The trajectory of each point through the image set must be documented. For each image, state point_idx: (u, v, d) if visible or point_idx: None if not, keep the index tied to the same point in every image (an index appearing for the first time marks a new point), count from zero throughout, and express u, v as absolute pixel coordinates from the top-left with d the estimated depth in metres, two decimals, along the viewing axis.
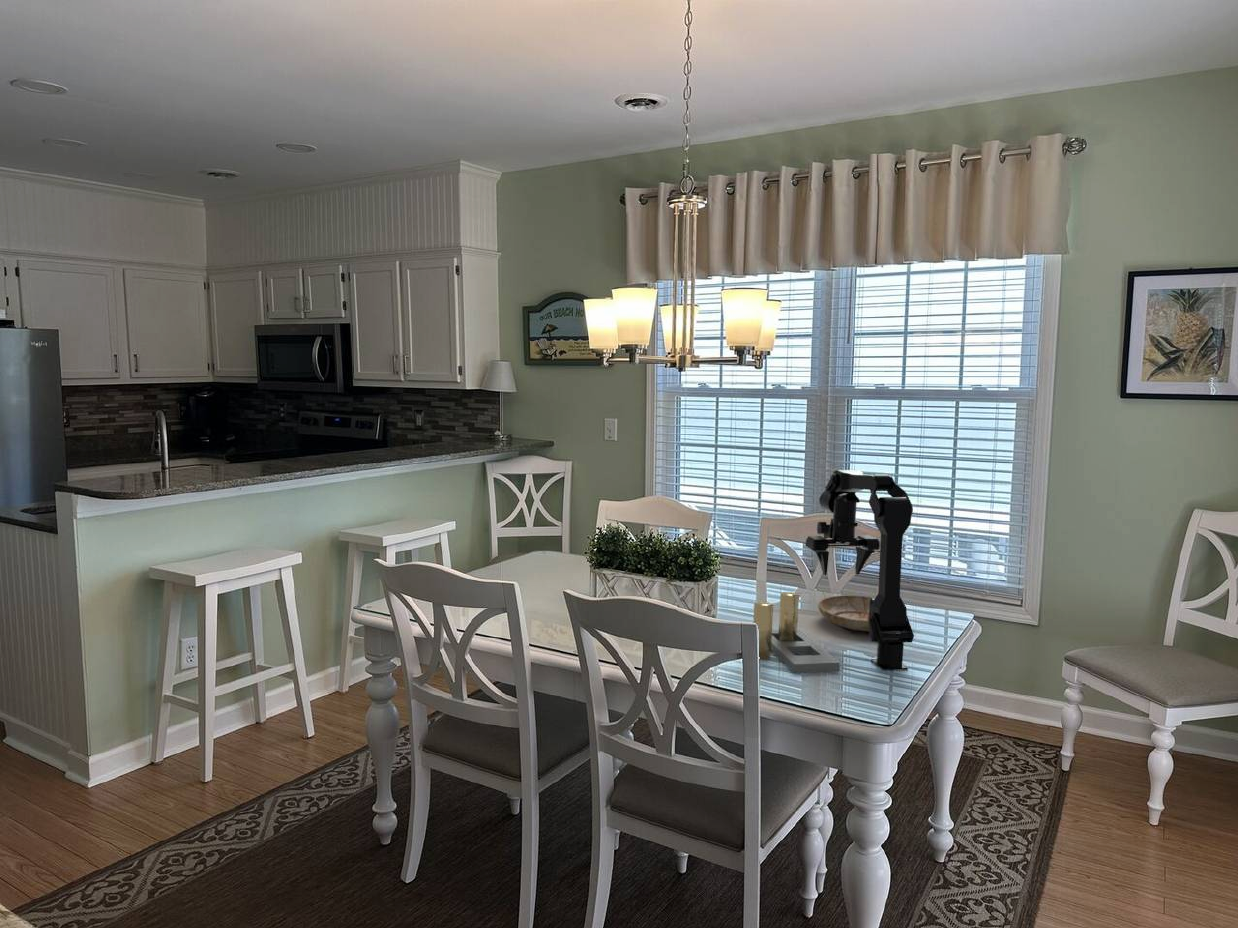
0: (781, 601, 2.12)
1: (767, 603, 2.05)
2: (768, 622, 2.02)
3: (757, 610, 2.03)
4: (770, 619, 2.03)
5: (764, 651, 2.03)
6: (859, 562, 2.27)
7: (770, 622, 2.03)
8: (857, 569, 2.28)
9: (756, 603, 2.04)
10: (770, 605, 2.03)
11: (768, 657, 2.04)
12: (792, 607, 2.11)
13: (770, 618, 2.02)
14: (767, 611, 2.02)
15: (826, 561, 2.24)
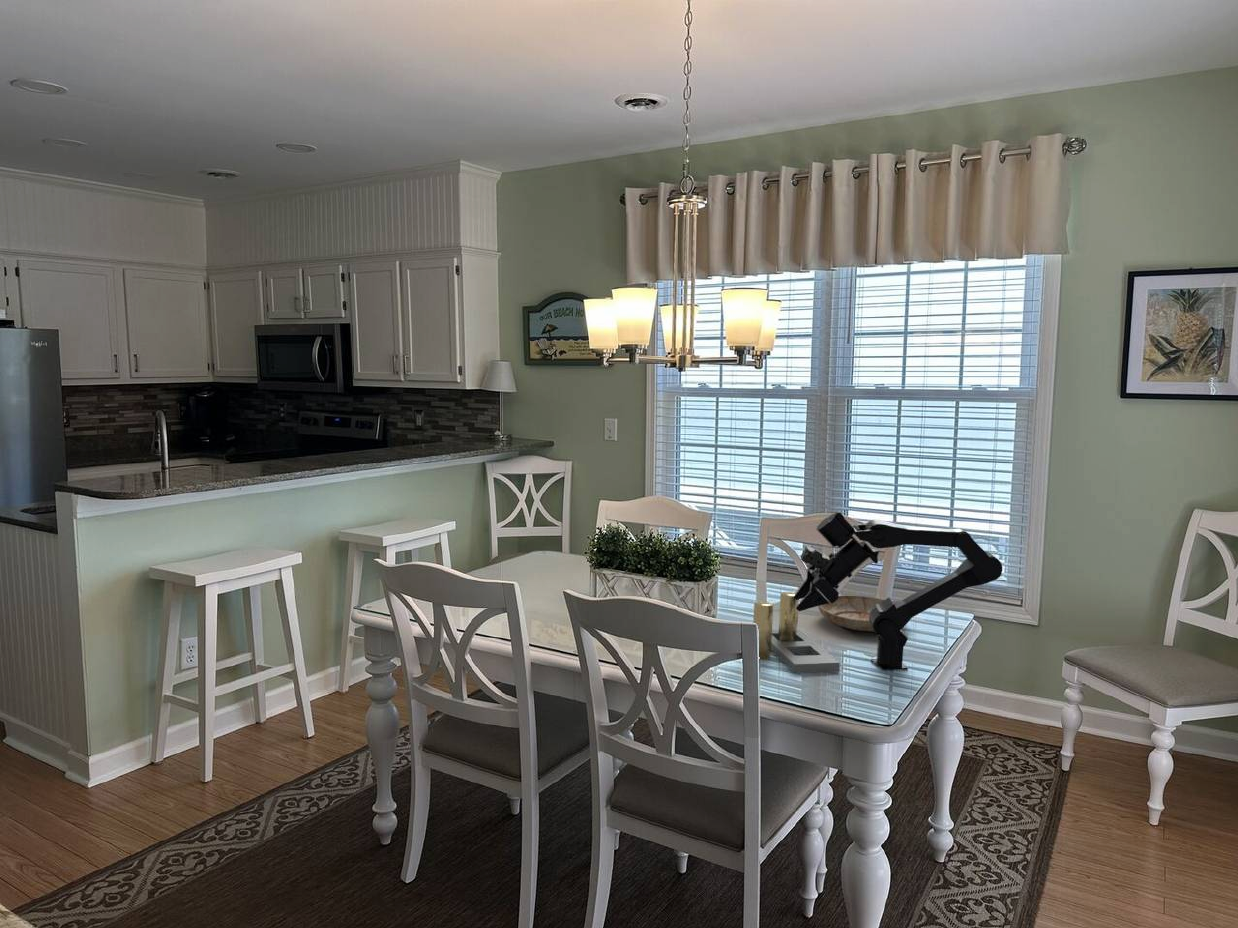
0: (781, 601, 2.12)
1: (767, 603, 2.05)
2: (768, 622, 2.02)
3: (757, 610, 2.02)
4: (770, 619, 2.03)
5: (764, 651, 2.03)
6: (808, 592, 2.07)
7: (770, 622, 2.03)
8: (800, 596, 2.07)
9: (756, 603, 2.04)
10: (770, 605, 2.03)
11: (768, 657, 2.04)
12: (792, 607, 2.11)
13: (770, 618, 2.02)
14: (767, 611, 2.02)
15: None
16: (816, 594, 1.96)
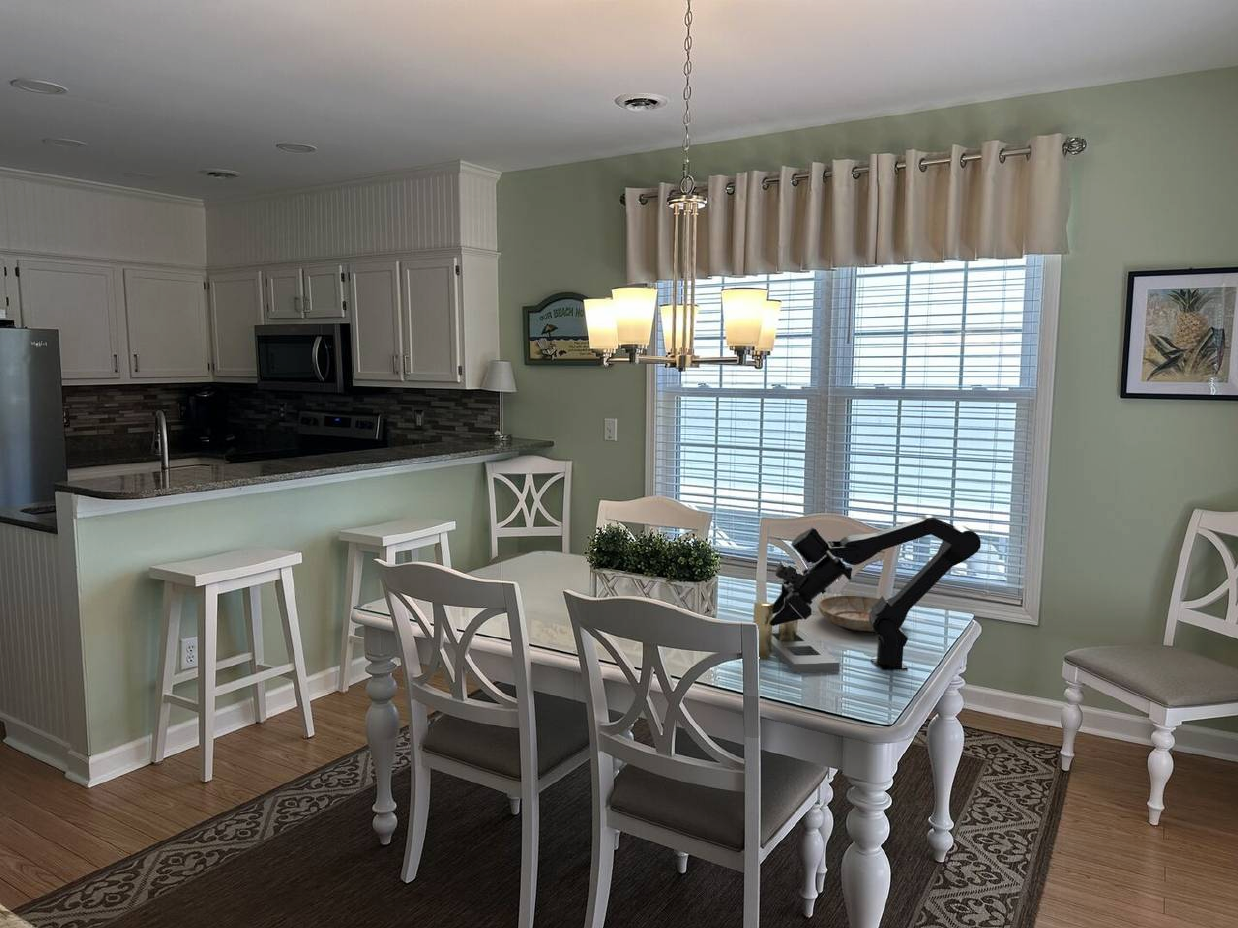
0: None
1: (767, 603, 2.05)
2: (768, 622, 2.02)
3: (757, 610, 2.02)
4: (770, 619, 2.03)
5: (764, 651, 2.03)
6: (782, 606, 2.08)
7: None
8: (775, 611, 2.08)
9: (756, 603, 2.04)
10: (770, 605, 2.03)
11: (768, 657, 2.04)
12: None
13: (770, 618, 2.02)
14: (767, 611, 2.02)
15: None
16: (789, 609, 1.98)
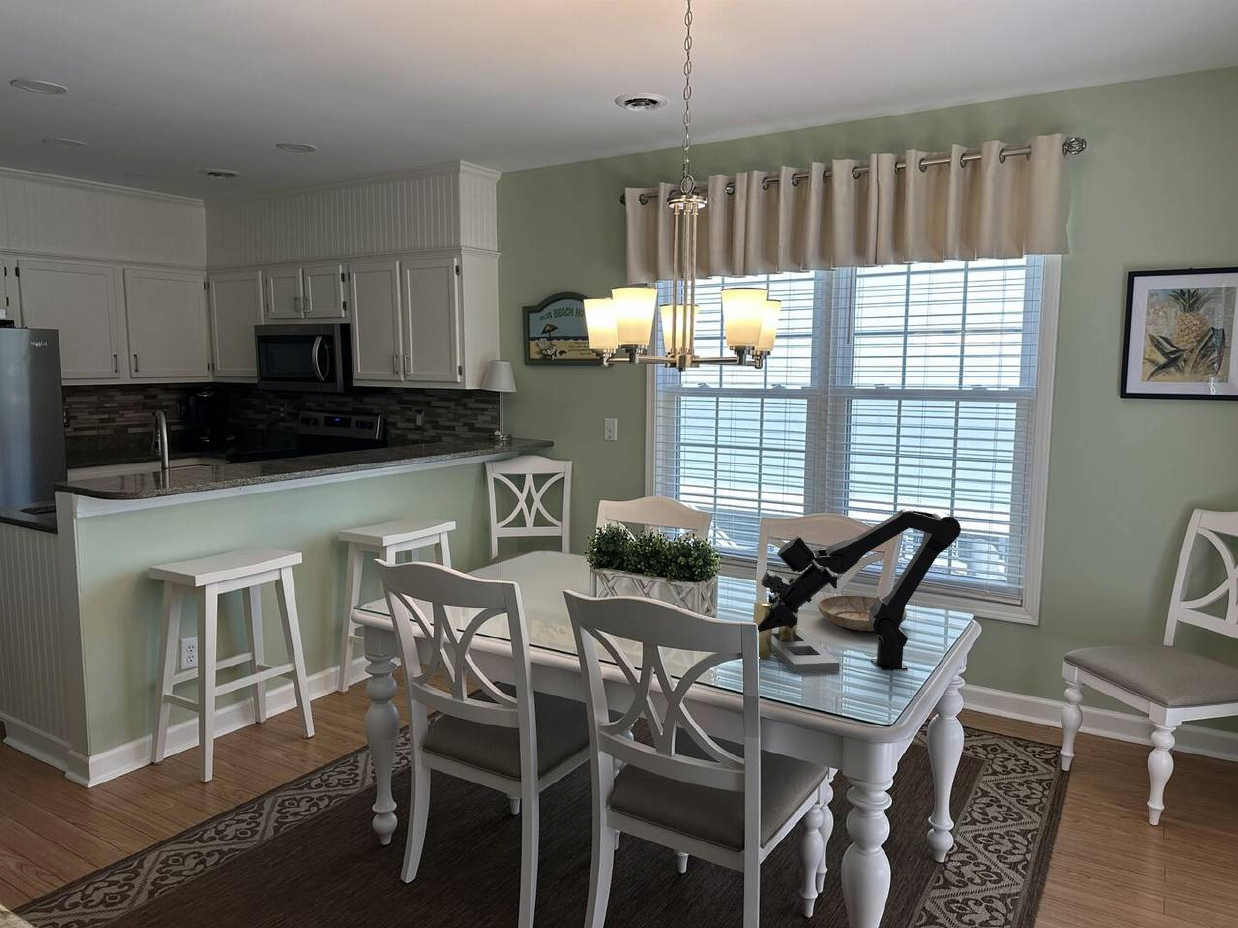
0: None
1: (767, 603, 2.05)
2: None
3: (757, 610, 2.02)
4: None
5: (764, 651, 2.03)
6: None
7: None
8: None
9: (756, 603, 2.04)
10: None
11: (768, 657, 2.04)
12: None
13: None
14: (767, 611, 2.02)
15: None
16: (775, 616, 2.00)
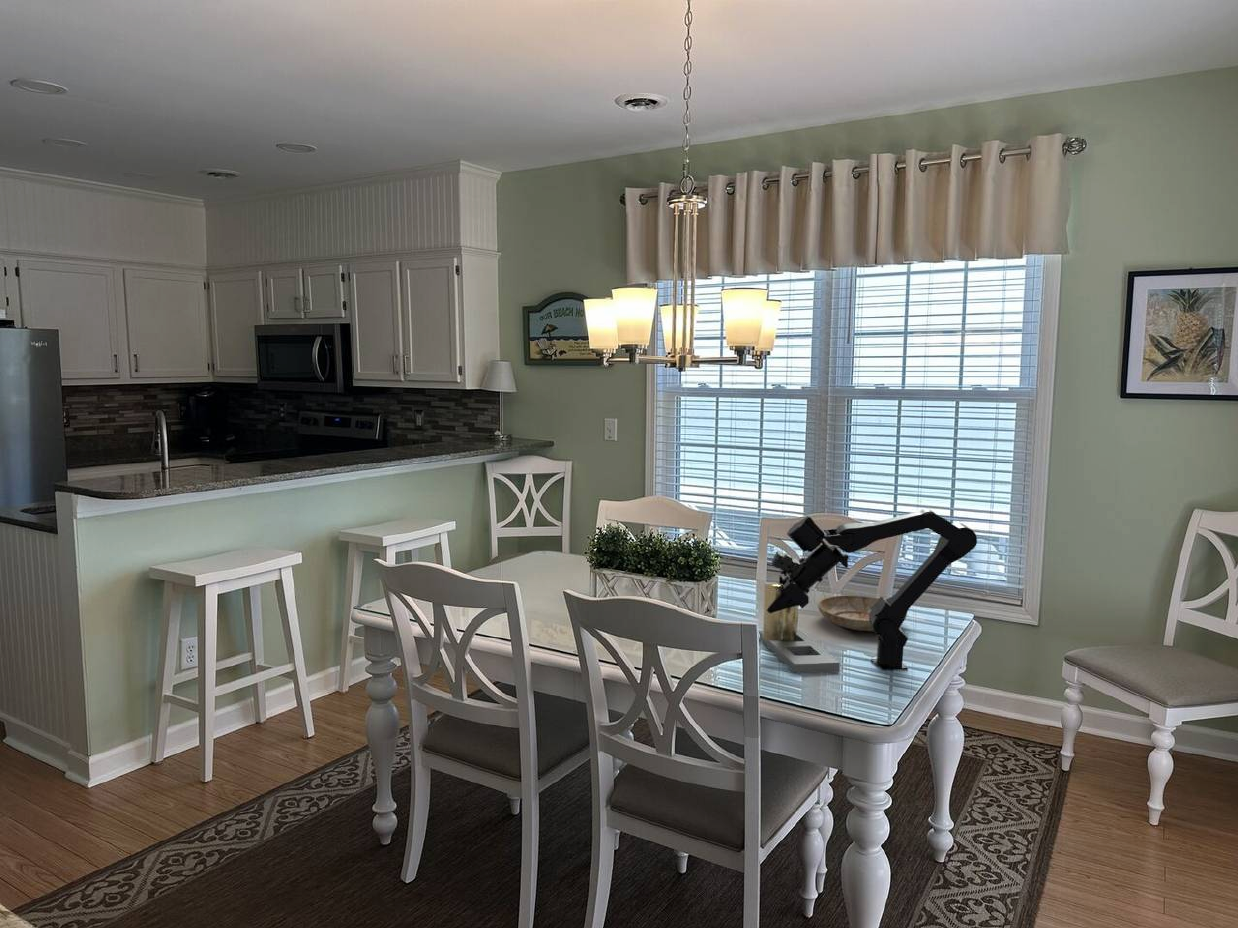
0: None
1: (778, 584, 2.04)
2: None
3: (768, 591, 2.02)
4: None
5: (776, 632, 2.02)
6: None
7: None
8: None
9: (766, 584, 2.04)
10: None
11: (780, 638, 2.03)
12: (792, 607, 2.11)
13: None
14: (778, 591, 2.01)
15: None
16: (786, 596, 1.99)
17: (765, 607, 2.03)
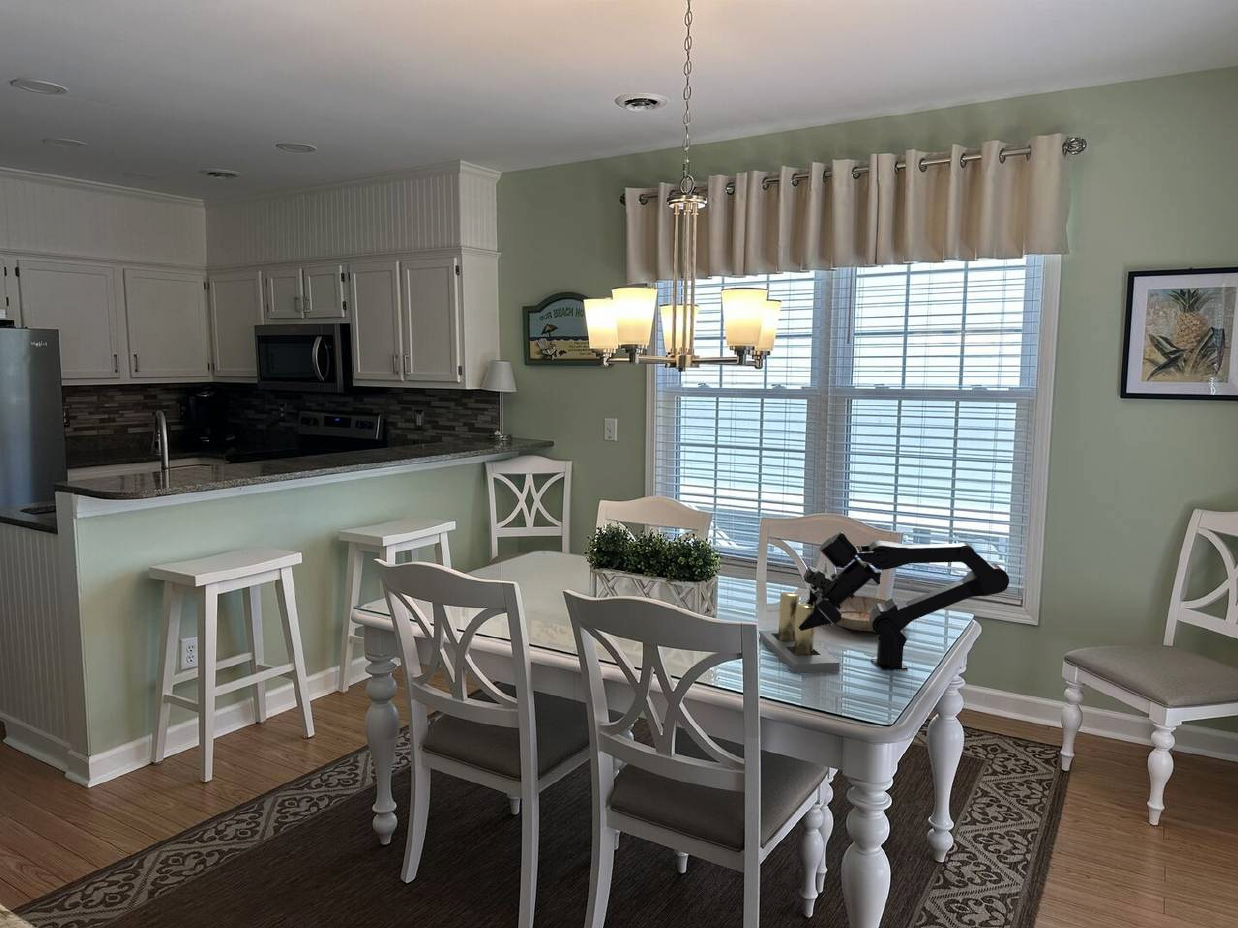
0: (781, 601, 2.12)
1: (809, 605, 2.04)
2: None
3: (800, 612, 2.02)
4: None
5: (807, 653, 2.02)
6: None
7: None
8: None
9: (798, 605, 2.03)
10: None
11: None
12: (792, 607, 2.11)
13: None
14: None
15: None
16: (819, 614, 1.98)
17: (796, 628, 2.03)
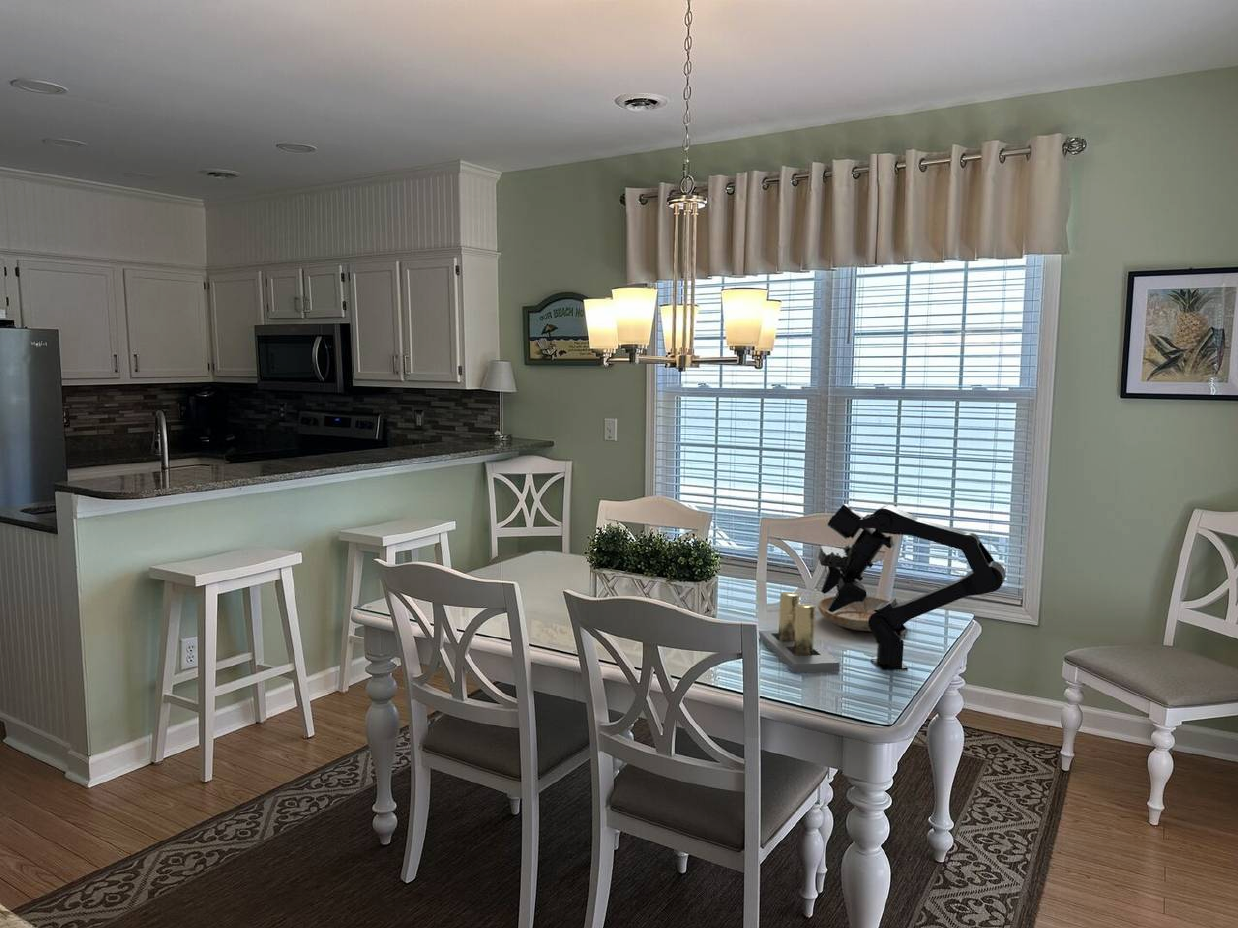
0: (781, 601, 2.12)
1: (809, 605, 2.04)
2: (810, 624, 2.01)
3: (799, 613, 2.02)
4: (812, 621, 2.02)
5: (807, 653, 2.02)
6: (833, 583, 2.11)
7: (812, 624, 2.02)
8: (828, 589, 2.11)
9: (798, 605, 2.04)
10: (812, 607, 2.02)
11: None
12: (792, 607, 2.11)
13: (812, 620, 2.02)
14: (810, 613, 2.01)
15: None
16: (844, 594, 2.00)
17: (796, 628, 2.03)
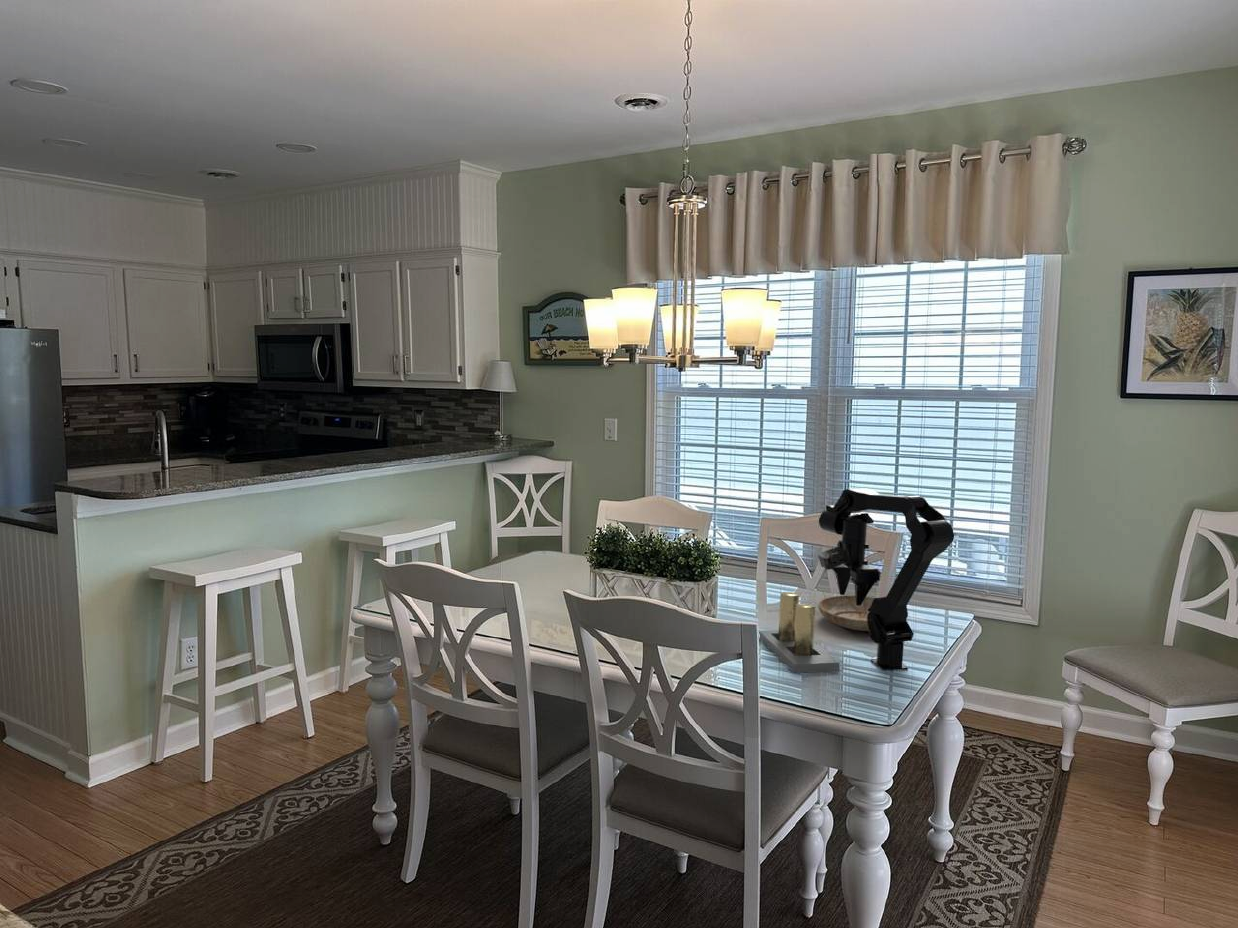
0: (781, 601, 2.12)
1: (809, 605, 2.04)
2: (810, 624, 2.01)
3: (799, 613, 2.02)
4: (812, 621, 2.02)
5: (807, 653, 2.02)
6: (845, 581, 2.18)
7: (812, 624, 2.02)
8: (844, 589, 2.17)
9: (798, 605, 2.04)
10: (812, 607, 2.02)
11: None
12: (792, 607, 2.11)
13: (812, 620, 2.02)
14: (810, 613, 2.01)
15: None
16: (861, 583, 2.07)
17: (796, 628, 2.03)
